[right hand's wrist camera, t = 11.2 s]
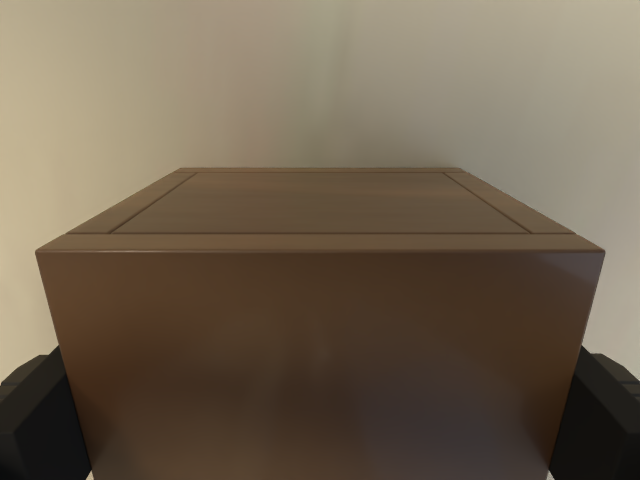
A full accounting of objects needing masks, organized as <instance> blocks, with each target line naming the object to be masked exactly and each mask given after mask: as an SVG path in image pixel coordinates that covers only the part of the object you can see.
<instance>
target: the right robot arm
mask: <svg viewBox="0 0 640 480" xmlns="http://www.w3.org/2000/svg"><path fill="white" fill-rule="evenodd" d="M549 471H550V473H551V474H552V476H553V478H554V479H555V480H640V381H639V380H638V379H637V378H635V377H634V376H633V375H632V374H631V373H630V372H629V371H628V370H627V369H626V368H625V367H623V366H622V365H620V364H618V363H617V362H615V361H613V360H611V359H610V358H608V357H606V356H605V355H603V354H590V353H589V352H588V351H587V350H586V349H585V348H584V347H583V346H582V345H581V349H580V353H579V356H578V360H577V364H576V368H575V372H574V376H573V379H572V383H571V387H570V391H569V395H568V398H567V402H566V406H565V410H564V414H563V418H562V421H561V425H560V429H559V433H558V437H557V441H556V444H555V448H554V452H553V456H552V460H551V464H550V467H549ZM90 472H91V466H90V462H89V459H88V455H87V451H86V447H85V443H84V439H83V436H82V432H81V428H80V424H79V420H78V416H77V412H76V409H75V405H74V401H73V397H72V393H71V389H70V386H69V382H68V378H67V374H66V370H65V366H64V362H63V359H62V355H61V351H60V347H59V345H58V346H57V347H56V348H55V349H54V350H53V351H52V352H51V353H50V354H49V355H39V356H37V357H35V358H33V359H32V360H30V361H28V362H27V363H25V364H23V365H21V366H20V367H18V368H17V369H16V370H15V371H14V372H12V373H11V374H10V375H9V376H8V377H7V378H6V379H5V380H4V381H3V382H2V383H1V386H0V480H86V478H87V477H88V475H89V473H90Z"/></svg>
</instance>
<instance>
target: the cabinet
mask: <svg viewBox="0 0 640 480" xmlns="http://www.w3.org/2000/svg"><path fill="white" fill-rule="evenodd" d="M35 255H36V259H37V262H38V266H39V270H40V274H41V278H42V282H43V286H44V289H45V293H46V297H47V301H48V305H49V309H50V312H51V316H52V320H53V324H54V328H55V332H56V336H57V339H58V343H59V347H60V351H61V355H62V359H63V362H64V366H65V370H66V374H67V378H68V382H69V386H70V389H71V393H72V397H73V401H74V405H75V409H76V412H77V416H78V420H79V424H80V428H81V432H82V436H83V439H84V443H85V447H86V451H87V455H88V459H89V462H90V466H91V470H92V474H93V478H94V480H546V479H547V475H548V471H549V467H550V464H551V460H552V456H553V452H554V448H555V444H556V441H557V437H558V433H559V429H560V425H561V421H562V418H563V414H564V410H565V406H566V402H567V398H568V395H569V391H570V387H571V383H572V379H573V376H574V372H575V368H576V364H577V360H578V356H579V353H580V349H581V345H582V341H583V337H584V333H585V330H586V326H587V322H588V318H589V314H590V310H591V307H592V303H593V299H594V295H595V291H596V287H597V284H598V280H599V276H600V272H601V268H602V264H603V261H604V257H605V250H604V249H602V248H601V247H599V246H597V245H595V244H594V243H592V242H590V241H588V240H586V239H585V238H583V237H581V236H579V235H577V234H576V233H574V232H573V231H571V230H569V229H567V228H566V227H564V226H562V225H560V224H559V223H557V222H555V221H553V220H551V219H550V218H548V217H546V216H544V215H543V214H541V213H539V212H537V211H536V210H534V209H532V208H530V207H528V206H527V205H525V204H523V203H521V202H520V201H518V200H516V199H514V198H512V197H511V196H509V195H507V194H505V193H504V192H502V191H500V190H498V189H497V188H495V187H493V186H491V185H489V184H488V183H486V182H484V181H482V180H481V179H479V178H477V177H475V176H473V175H472V174H470V173H467V172H466V171H464V170H462V169H460V168H180V169H178V170H176V171H174V172H172V173H170V174H169V175H167V176H165V177H163V178H162V179H160V180H158V181H156V182H155V183H153V184H151V185H149V186H148V187H146V188H144V189H142V190H141V191H139V192H137V193H135V194H134V195H132V196H130V197H128V198H127V199H125V200H123V201H121V202H120V203H118V204H116V205H114V206H113V207H111V208H109V209H107V210H106V211H104V212H102V213H100V214H99V215H97V216H95V217H93V218H91V219H90V220H88V221H86V222H84V223H83V224H81V225H79V226H77V227H76V228H74V229H72V230H70V231H69V232H67V233H66V234H63V235H61V236H59V237H58V238H56V239H54V240H52V241H51V242H49V243H47V244H45V245H44V246H42V247H40V248H38V249H37V250H36V251H35Z"/></svg>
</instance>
